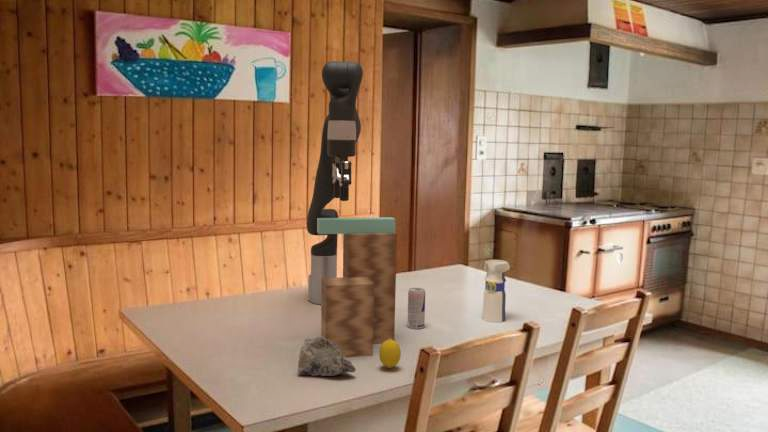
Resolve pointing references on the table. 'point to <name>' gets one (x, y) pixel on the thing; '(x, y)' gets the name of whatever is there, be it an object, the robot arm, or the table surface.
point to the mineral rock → (322, 358)
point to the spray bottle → (494, 290)
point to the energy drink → (416, 308)
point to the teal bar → (355, 225)
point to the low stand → (348, 314)
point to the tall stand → (375, 275)
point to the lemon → (389, 353)
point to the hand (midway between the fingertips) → (341, 199)
